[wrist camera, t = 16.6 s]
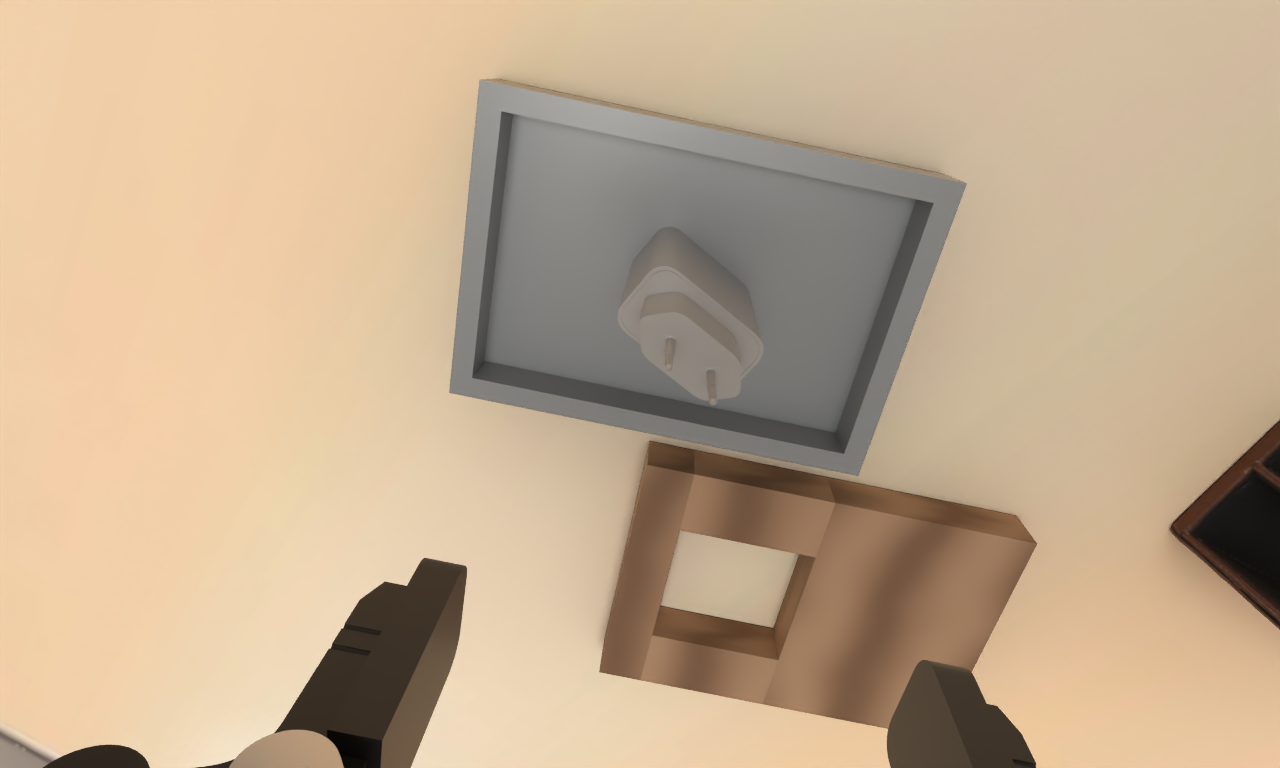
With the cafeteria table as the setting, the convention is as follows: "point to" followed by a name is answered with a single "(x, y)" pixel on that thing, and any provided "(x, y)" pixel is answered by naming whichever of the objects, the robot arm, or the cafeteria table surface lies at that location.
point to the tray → (724, 228)
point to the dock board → (811, 586)
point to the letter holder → (1242, 526)
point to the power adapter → (691, 316)
